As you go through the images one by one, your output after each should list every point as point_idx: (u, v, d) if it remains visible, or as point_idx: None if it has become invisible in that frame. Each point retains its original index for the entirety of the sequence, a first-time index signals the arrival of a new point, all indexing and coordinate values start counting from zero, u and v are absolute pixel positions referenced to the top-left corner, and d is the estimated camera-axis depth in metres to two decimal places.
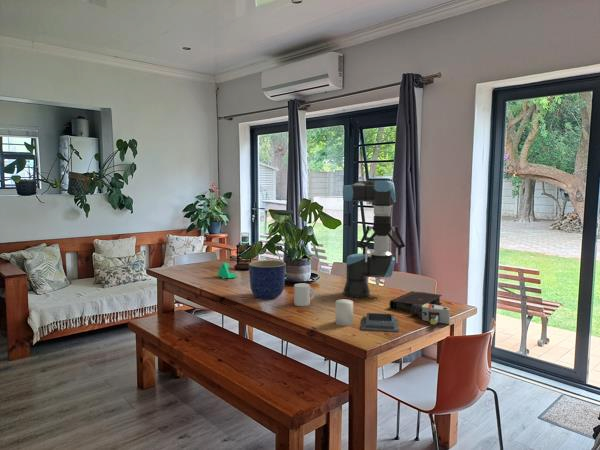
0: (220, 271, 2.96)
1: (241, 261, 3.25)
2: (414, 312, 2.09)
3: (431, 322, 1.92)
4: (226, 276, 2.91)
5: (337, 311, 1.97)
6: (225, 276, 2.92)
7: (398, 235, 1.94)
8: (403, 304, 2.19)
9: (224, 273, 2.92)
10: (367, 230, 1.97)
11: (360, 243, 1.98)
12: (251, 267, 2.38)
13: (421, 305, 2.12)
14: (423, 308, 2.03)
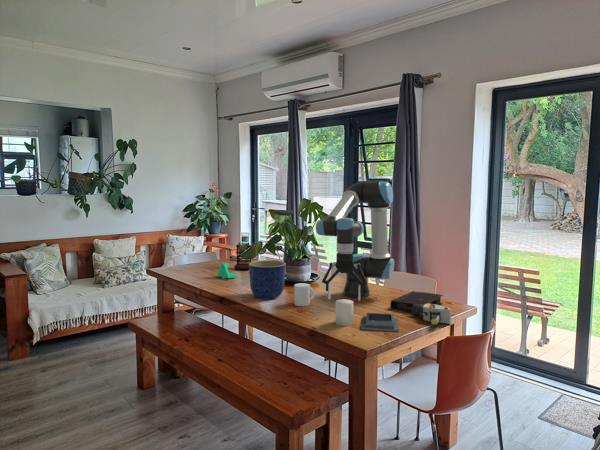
0: (220, 271, 2.96)
1: (241, 261, 3.25)
2: (415, 312, 2.09)
3: (432, 322, 1.91)
4: (226, 276, 2.91)
5: (337, 311, 1.97)
6: (225, 276, 2.92)
7: (360, 273, 1.95)
8: (404, 304, 2.19)
9: (224, 273, 2.92)
10: (330, 267, 1.97)
11: (323, 280, 1.98)
12: (251, 267, 2.38)
13: (422, 305, 2.12)
14: (424, 308, 2.03)
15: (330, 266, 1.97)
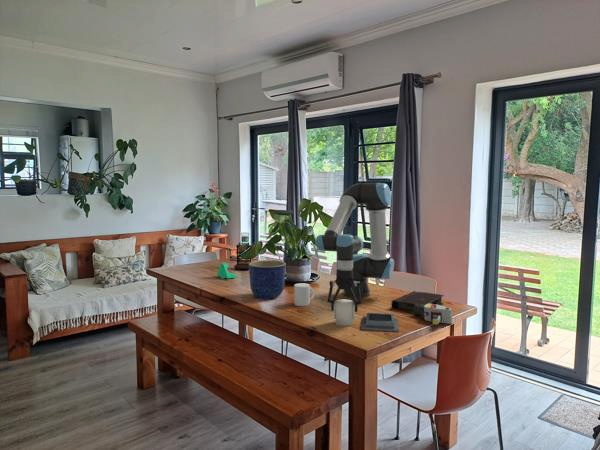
0: (219, 271, 2.95)
1: (241, 261, 3.25)
2: (416, 312, 2.09)
3: (433, 322, 1.91)
4: (225, 276, 2.91)
5: (337, 311, 1.97)
6: (224, 276, 2.92)
7: (358, 291, 1.96)
8: (405, 304, 2.19)
9: (223, 273, 2.92)
10: (331, 285, 1.98)
11: (328, 300, 1.99)
12: (251, 267, 2.38)
13: (423, 305, 2.12)
14: (425, 308, 2.03)
15: (331, 284, 1.98)
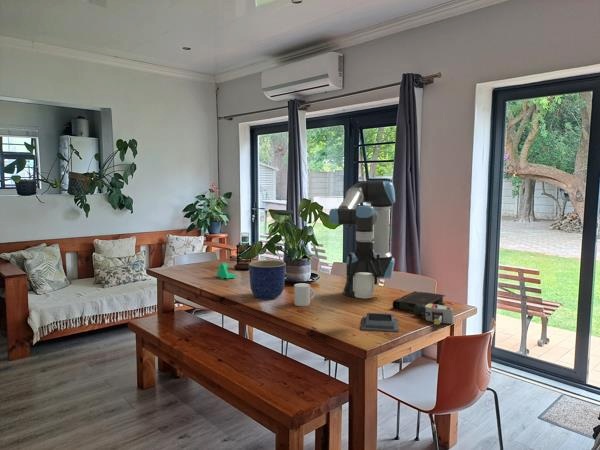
0: (219, 271, 2.95)
1: (241, 261, 3.25)
2: (417, 312, 2.09)
3: (435, 322, 1.91)
4: (225, 276, 2.91)
5: (356, 283, 1.94)
6: (224, 276, 2.91)
7: (378, 263, 1.93)
8: (406, 304, 2.19)
9: (223, 273, 2.92)
10: (350, 258, 1.95)
11: (347, 272, 1.96)
12: (251, 267, 2.38)
13: (424, 305, 2.12)
14: (426, 308, 2.03)
15: (350, 256, 1.95)
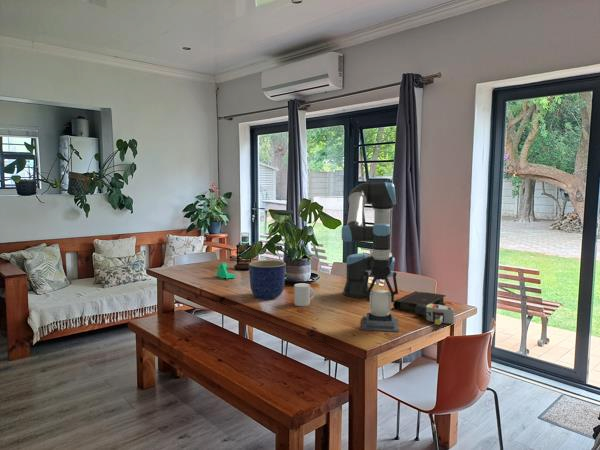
0: (218, 271, 2.95)
1: (241, 261, 3.25)
2: (418, 312, 2.09)
3: (435, 322, 1.91)
4: (224, 276, 2.90)
5: (373, 301, 1.94)
6: (223, 276, 2.91)
7: (395, 281, 1.93)
8: (407, 304, 2.19)
9: (223, 273, 2.92)
10: (367, 275, 1.95)
11: (364, 290, 1.95)
12: (251, 267, 2.38)
13: (425, 305, 2.12)
14: (427, 308, 2.03)
15: (367, 274, 1.95)
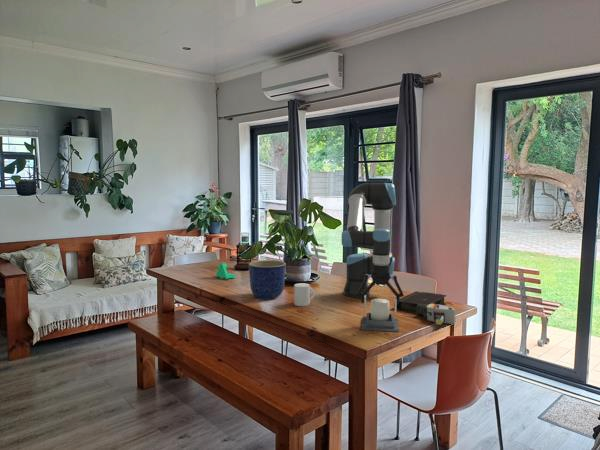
0: (218, 271, 2.95)
1: (241, 261, 3.25)
2: (419, 312, 2.09)
3: (436, 322, 1.91)
4: (224, 276, 2.90)
5: (373, 310, 1.94)
6: (223, 276, 2.91)
7: (397, 284, 1.93)
8: (408, 304, 2.19)
9: (222, 273, 2.92)
10: (366, 279, 1.95)
11: (359, 292, 1.96)
12: (251, 267, 2.38)
13: (426, 305, 2.12)
14: (428, 308, 2.03)
15: (366, 278, 1.95)
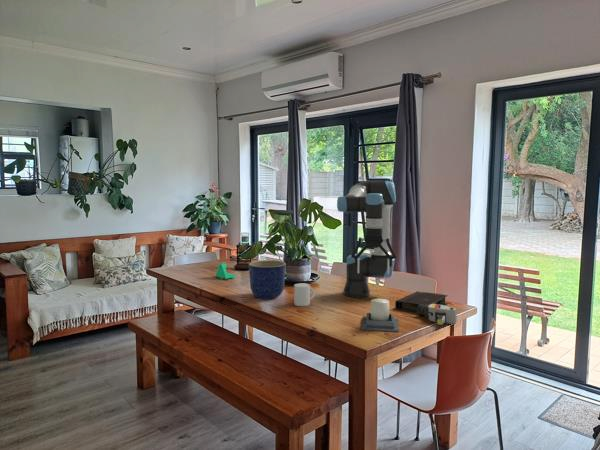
0: (218, 271, 2.95)
1: (241, 261, 3.25)
2: (420, 312, 2.09)
3: (438, 322, 1.91)
4: (223, 276, 2.90)
5: (373, 310, 1.94)
6: (222, 276, 2.91)
7: (389, 247, 1.98)
8: (409, 304, 2.18)
9: (222, 273, 2.91)
10: (359, 242, 2.00)
11: (352, 255, 2.01)
12: (251, 267, 2.38)
13: (427, 305, 2.12)
14: (429, 308, 2.03)
15: (359, 241, 2.00)
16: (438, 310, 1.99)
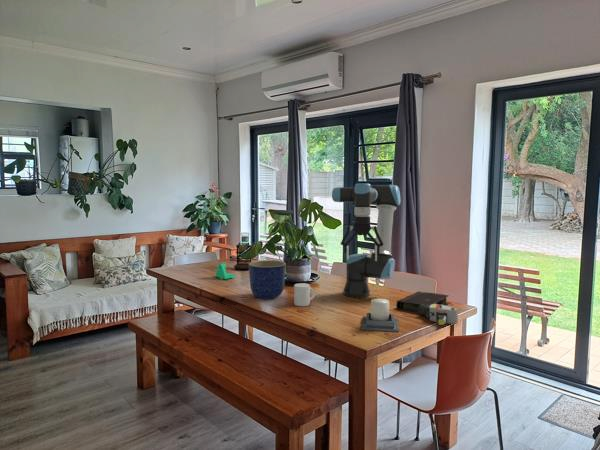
0: (217, 271, 2.95)
1: (241, 261, 3.25)
2: (421, 312, 2.09)
3: (439, 322, 1.91)
4: (223, 276, 2.90)
5: (373, 310, 1.94)
6: (222, 276, 2.91)
7: (377, 234, 2.07)
8: (410, 304, 2.18)
9: (221, 273, 2.91)
10: (348, 230, 2.09)
11: (342, 242, 2.10)
12: (251, 267, 2.38)
13: (428, 305, 2.12)
14: (431, 308, 2.02)
15: (348, 229, 2.09)
16: (439, 310, 1.99)
